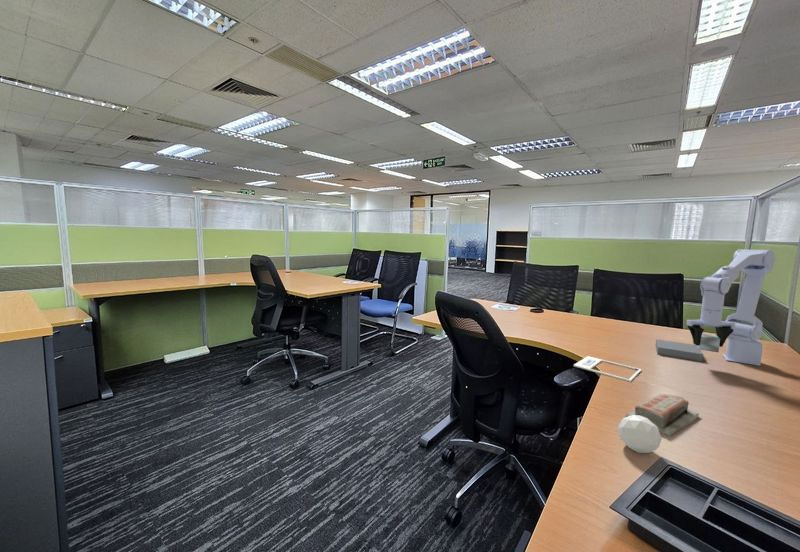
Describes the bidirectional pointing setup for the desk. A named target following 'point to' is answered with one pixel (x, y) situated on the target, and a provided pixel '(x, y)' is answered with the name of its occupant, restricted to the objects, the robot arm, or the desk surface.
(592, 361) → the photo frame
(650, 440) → the geometric ball
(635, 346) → the desk surface
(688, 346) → the pedestal
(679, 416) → the packaged product
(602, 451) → the desk surface
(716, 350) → the grey-green cube
